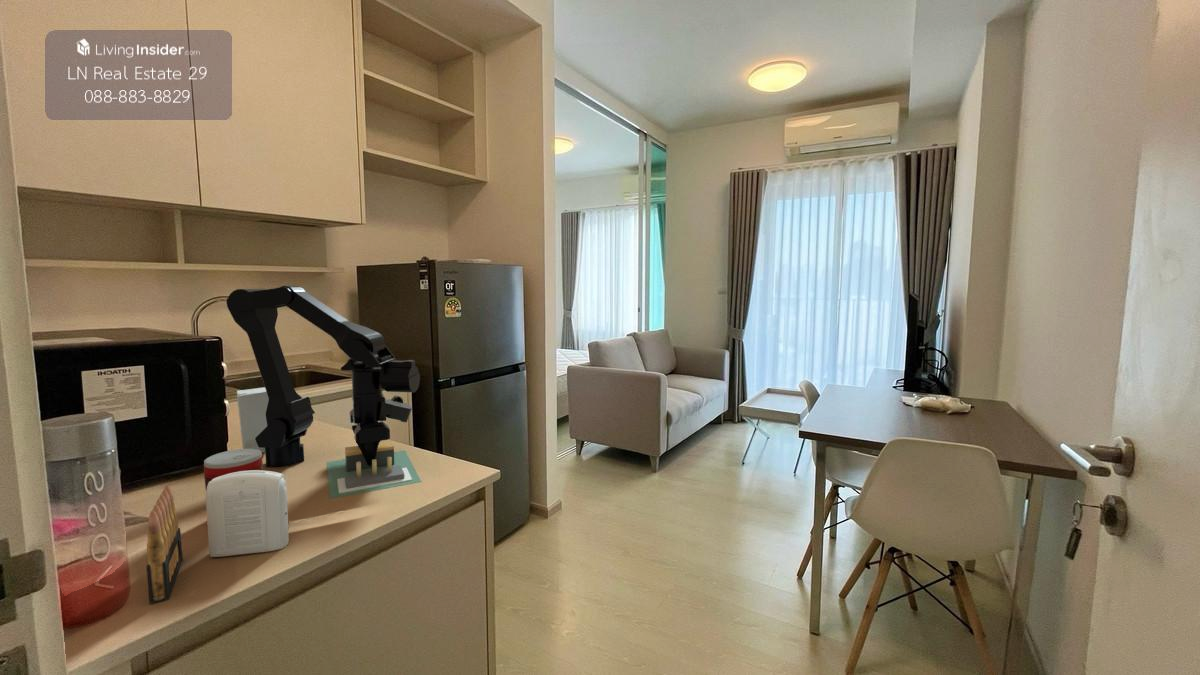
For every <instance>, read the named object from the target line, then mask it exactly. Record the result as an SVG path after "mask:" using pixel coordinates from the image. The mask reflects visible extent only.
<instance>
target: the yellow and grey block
mask: <svg viewBox="0 0 1200 675" xmlns="http://www.w3.org/2000/svg"><path fill="white" fill-rule="evenodd" d="M394 452H395V446H394V444H393V442H392V441H391V440H390V441H389V440H387V441H380V442H379V445H378V449H377V453H376V458H375V459H376V463H377V467H381V466H387V457H392V465H393V464H394ZM344 455H345V458H344V459H345V463H346V470H347V472H350V471H356V470H357V469H356V462H361V470H362V469H369V468H372V465H370V466H369V465H368V464H367V462H366V460H365V458H364V456H363V454H362V452H361V450H360V448H359V446H358V445H354V446H348V447H347V446H346V447H344Z"/></svg>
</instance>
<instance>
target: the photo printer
mask: <svg viewBox="0 0 1200 675" xmlns="http://www.w3.org/2000/svg"><path fill="white" fill-rule="evenodd" d="M205 503H206V504H205V505H206V519H207V521H206V522H207V523H206V524H207V537H208V540H207V541H208V553H209V557H211V558H217V557H218V558H220V557H228V556H229V557H230V556H238V555H248V554H255V553H265V552H266V553H267V552H272V551H278V550H282V549H284V548H285V547H286V546H287V545H288V544H289V538H290V537H289V536H290V535H289V514H288V512H289V511H288V491H287V482H286V477H285V474H284V473H280V472H277V471H271V470H264V469H263V470H249V471H240V472H234V473H229V474H226V475H222V476H219V477H216V478H214V479H212V481H210V482H209V483H208V486H207V490H206V489H205Z"/></svg>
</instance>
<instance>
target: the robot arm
mask: <svg viewBox="0 0 1200 675" xmlns="http://www.w3.org/2000/svg"><path fill="white" fill-rule="evenodd" d="M225 301H226V307H227V309H228V311H229V313H230V315H231V317H232V319H233V321H234V322H235V323H236V324H237V325H238V326H239V327H240V328H241V329H242V330H243V331H244V332H246V334H247V337H248V340H249V342H250V346H251V350H252V352H253V355H254V358H255V362H256V364H257V368H258V370H259V372H260V373H259V374H260V377H261V379H262V383H263V386H264V387H265V389H266V392H267V395H268V399H269V401H268V405H267V409H266V414H265V415H266V421H267V427H266V428H265V429H264V430H263V431H262V432H261V433H260V434H259V435H258V436H257V437H256V438H255V440H256V442H257V445H258V447H259V448H265V452H264V456H265V468H273V469H274V468H275V469H276V468H277V469H278V468H286V467H289V466H293V465H296V464H300V463H303V462H305V448H304V447H305V446H304V443H301V438H302V437H304V436H306V434H307V431H308V429H309V428H310V427H311V426H312V423H314V414H316V412H315V411H314V409H313V407H312V403H311V399H310V396H305V397H302V396H301V395H300V394H298V393H297V391H296V390H295V386H294V384H293V380H292V377H291V373H290V372H289V371H290V370H289V368H288V365H287V361H286V358H285V356H284V352H283V349H282V347H281V346H282V345H281V343H280V340H279V337H278V333H277V330H276V323H277V319H278V317H279V316H278V315H279V312H278V309H279V308H285V307H287V308H288V309H290V310H292V311H293V312H295V313H296V314H297V315H299V316H300V317H302V318H303V319H304V320H306V321H308V322H309V323H311V324H312V325H314V326H315V327H317V328H318V329H320V330H321V331H323V332H324V333H325V334H327V335H328V336H330V337H331V338H332V339H333V340H334V341H335V342H336V344H337V346H338V348H339V349H340V351H342V352H343V353H344V354H345V355H346V356H347V357H349V359H348V360H347V362H346V363H345V364H344V365H343V366H341V367H340V370H341V371H342V372H344V371H346V372H351V386H352V387H351V388H352V394H351V400H352V409H351V410H350V411H349V422H350V423H351V424H354V425H352V426H351V429H352V430H351V431H352V432H353V434H354V441H355V444H357V445H356V446H359V448H360V450H361V452H362V454H363V456H364V458H365V460H366V462H367V464H368V465H369V466H370V465H372V460H373V459H375V458H376V453H377V449H378V445H379V443H381V442H383V441H389V440H390V439H391V430H390V427H389V426H388V424H386V423H385V421H387V418H388V419H391V420H396V421H400V422H402V423H407V422H408V420H409V418H410V415H411V412H412V407H411V405H410V404H408V403H406V402H405V403H404V400H403V397H402V396H399V395H394V396H393V397H392V398H391V399H389V398H388V399H386V397H385V396H384V393H383V390H384V391H385V392H388V393H416V392H417V391H418V389H419V387H420V382H421V375H420V373H419V368H418V367H417V366H416V361H415V360H414V359H408V360H397V357H396V356H395V355H394V354H393V353H392V351H391V350H390V349H389V348H388V347H387V346H388V345H386V343H385V337H384V336H383V335H382V334H381V333H379V332H378V331H375V330H373V329H371V328H369V327H367V326H365V325H361V324H357V323H354V322H352V321H350V320H348V319H347V318H345V317H344V316H342V315H341V314H340V313H338V312H336V311H335V310H334V309H332V308H331V307H329V306H328V305H326V304H324V303H323V302H322V301H320V300H319V299H317V298H316V297H314V296H313V295H311V294H310V293H308V292H307V291H306V290H305V289H304V288H303V287H301V286H299V285H282V286H280V287H274V288H268V289H265V288H239V289H235V290H232V292H230V293H229V295H228V297H227V298H226V300H225Z"/></svg>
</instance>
